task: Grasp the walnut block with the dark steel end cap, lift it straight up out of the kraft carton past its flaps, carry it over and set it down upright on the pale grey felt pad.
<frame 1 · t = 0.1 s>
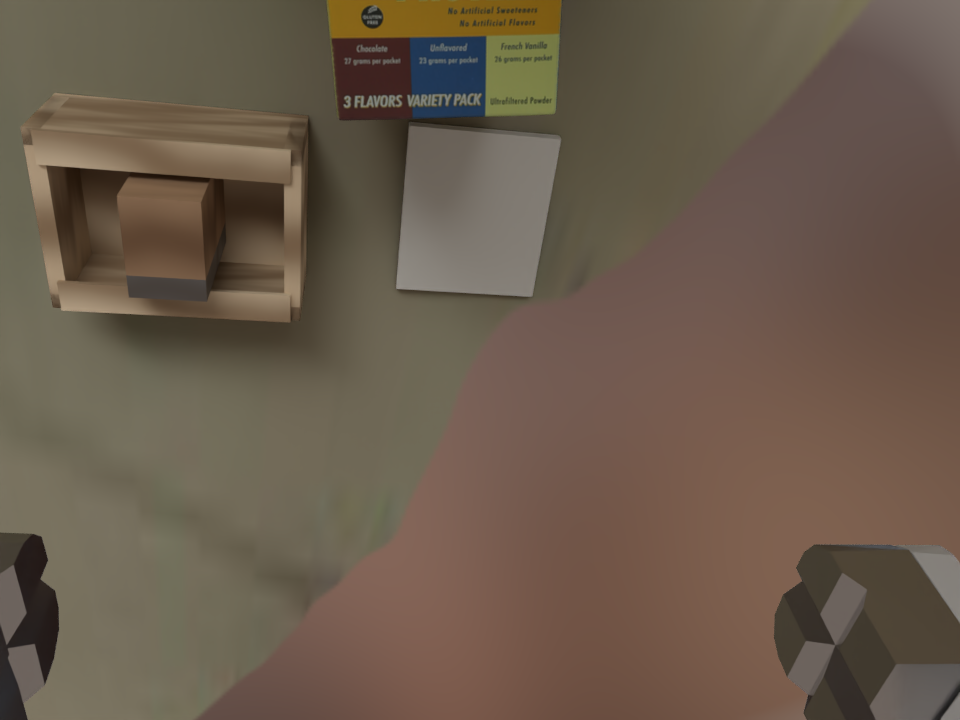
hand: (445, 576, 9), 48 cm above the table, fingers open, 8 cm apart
felt pad: (474, 212, 59), on the table
capped block: (188, 195, 56), point 1 cm above the table, touching carton
carton: (190, 191, 56), on the table
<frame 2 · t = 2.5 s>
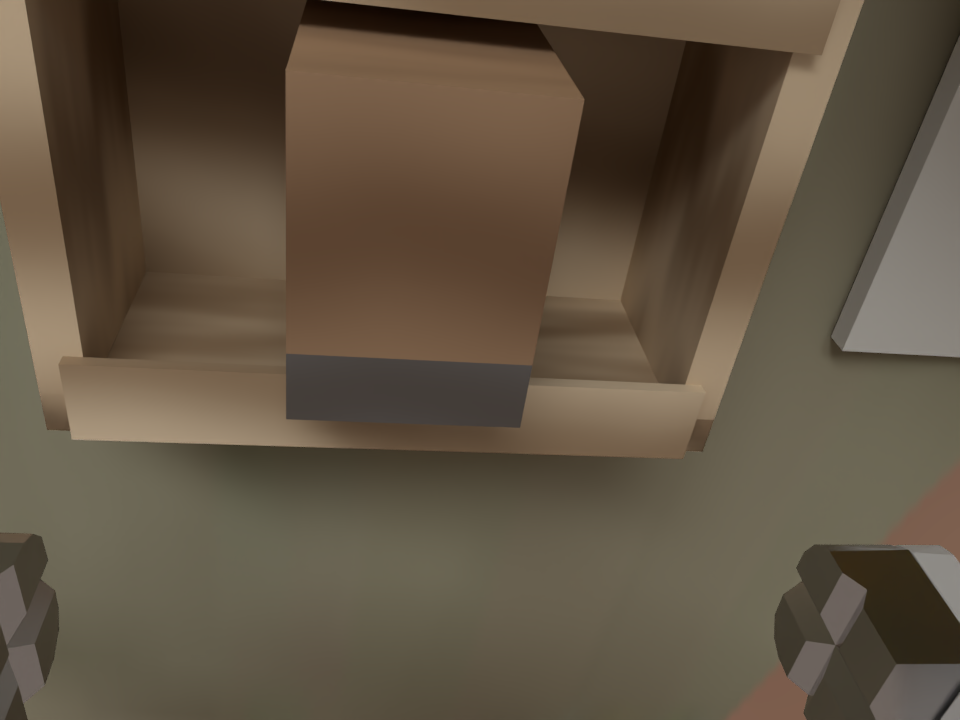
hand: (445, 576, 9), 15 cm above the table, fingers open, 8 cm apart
capped block: (406, 118, 21), point 1 cm above the table, touching carton
carton: (406, 110, 22), on the table
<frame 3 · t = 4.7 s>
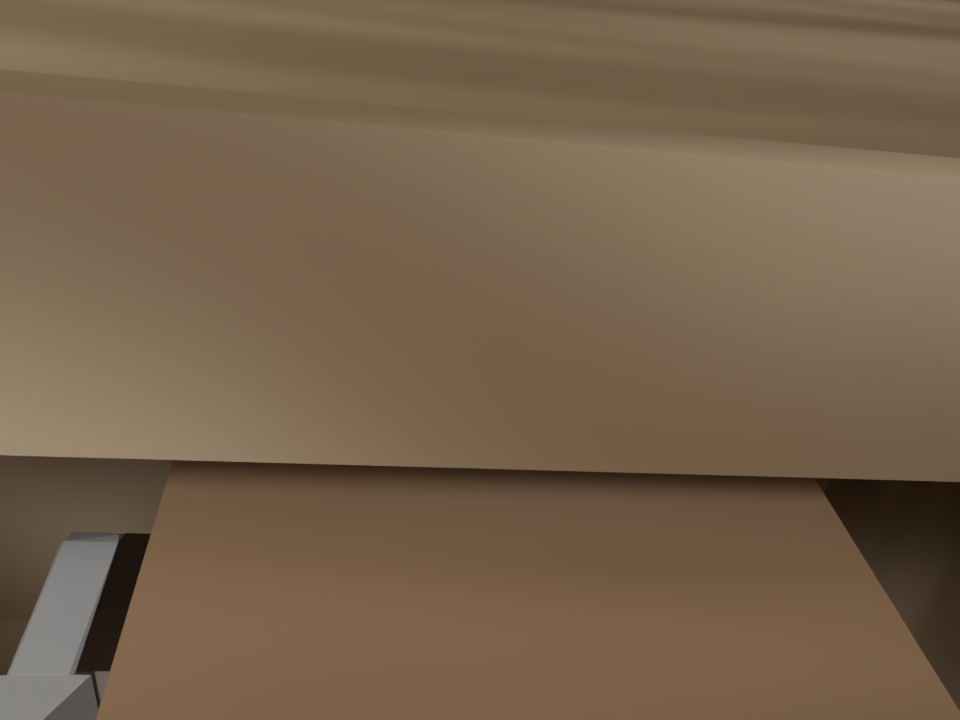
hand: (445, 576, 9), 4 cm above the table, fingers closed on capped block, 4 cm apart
capped block: (429, 396, 12), point 1 cm above the table, touching carton, gripper
carton: (427, 371, 12), on the table
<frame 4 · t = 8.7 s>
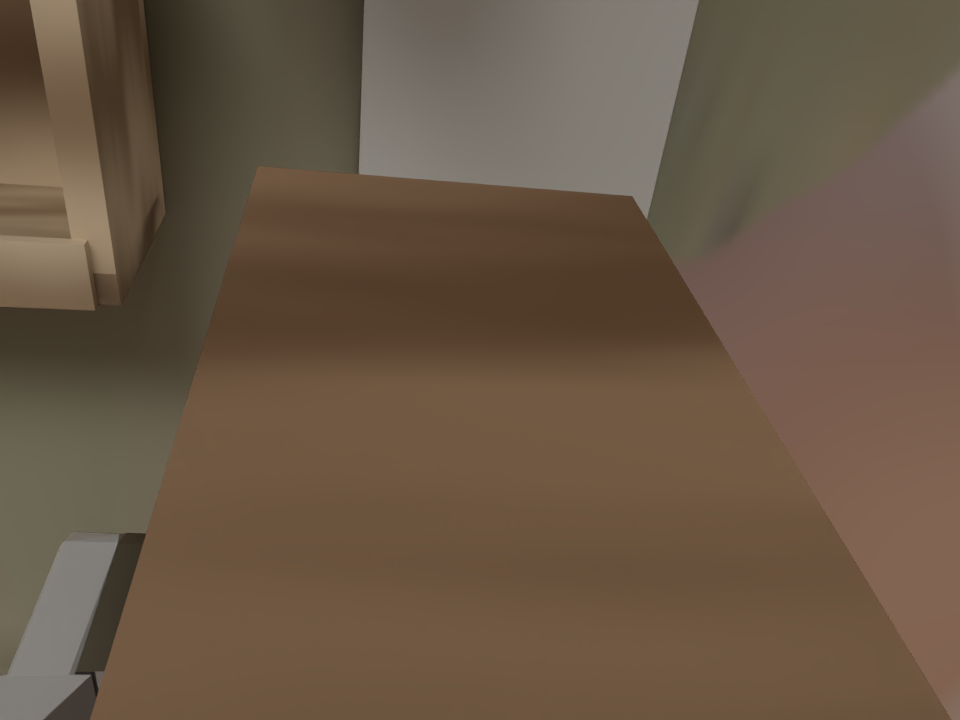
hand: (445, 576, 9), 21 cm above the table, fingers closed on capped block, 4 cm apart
felt pad: (521, 66, 27), on the table
capped block: (426, 398, 12), point 18 cm above the table, touching gripper
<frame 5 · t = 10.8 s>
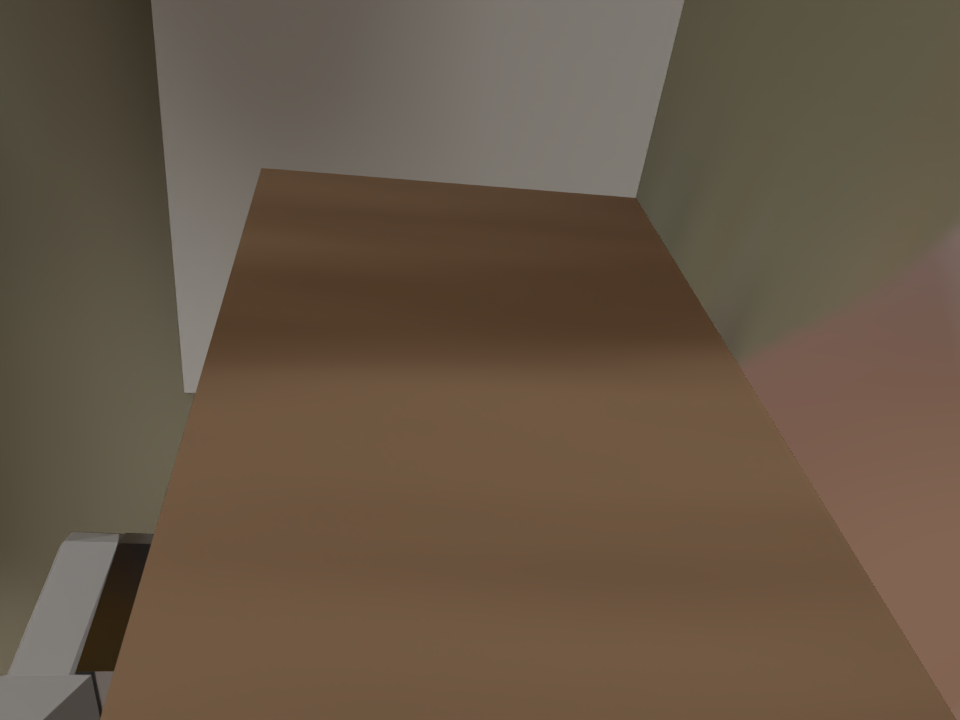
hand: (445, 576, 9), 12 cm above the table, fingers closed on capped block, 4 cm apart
felt pad: (409, 161, 19), on the table
capped block: (429, 400, 12), point 8 cm above the table, touching gripper
when the fingers open (6 cm above the table, at t = 12.8 s): capped block drops 1 cm, resting on felt pad.
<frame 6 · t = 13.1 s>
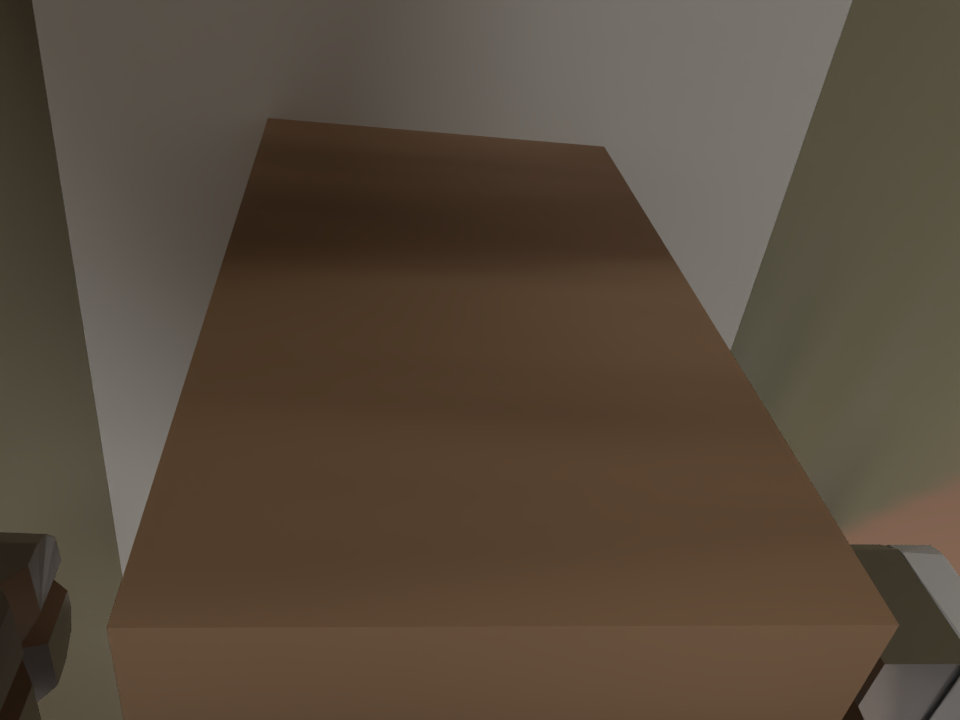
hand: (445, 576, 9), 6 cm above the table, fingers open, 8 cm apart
felt pad: (422, 312, 14), on the table
capped block: (420, 337, 13), point 1 cm above the table, touching felt pad
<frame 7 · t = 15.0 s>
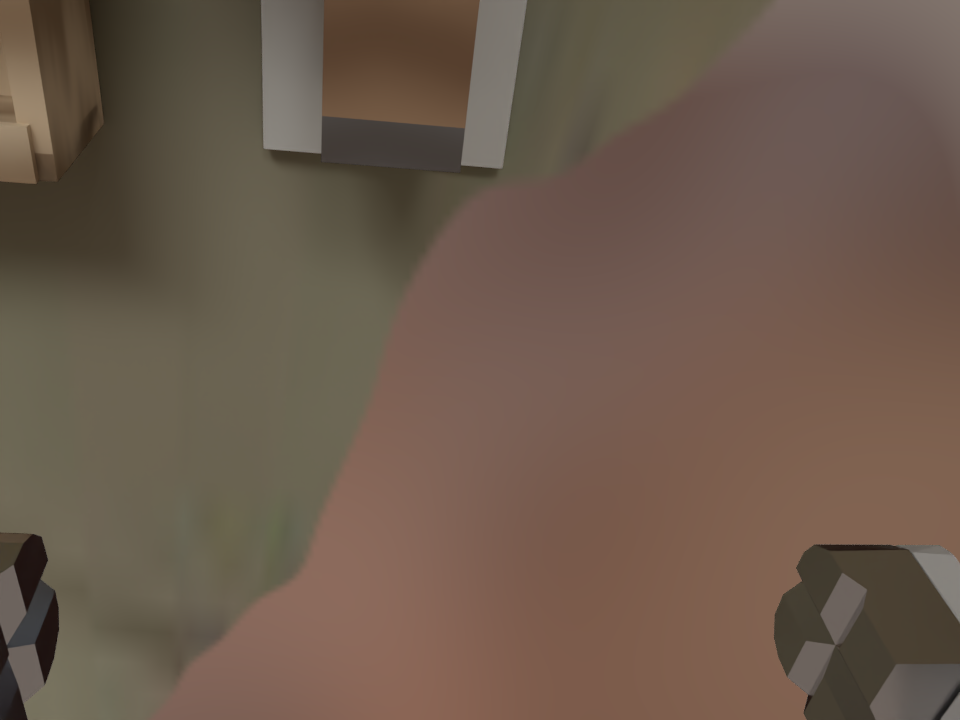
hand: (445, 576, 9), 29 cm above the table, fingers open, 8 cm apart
felt pad: (395, 4, 33), on the table
capped block: (393, 7, 32), point 1 cm above the table, touching felt pad
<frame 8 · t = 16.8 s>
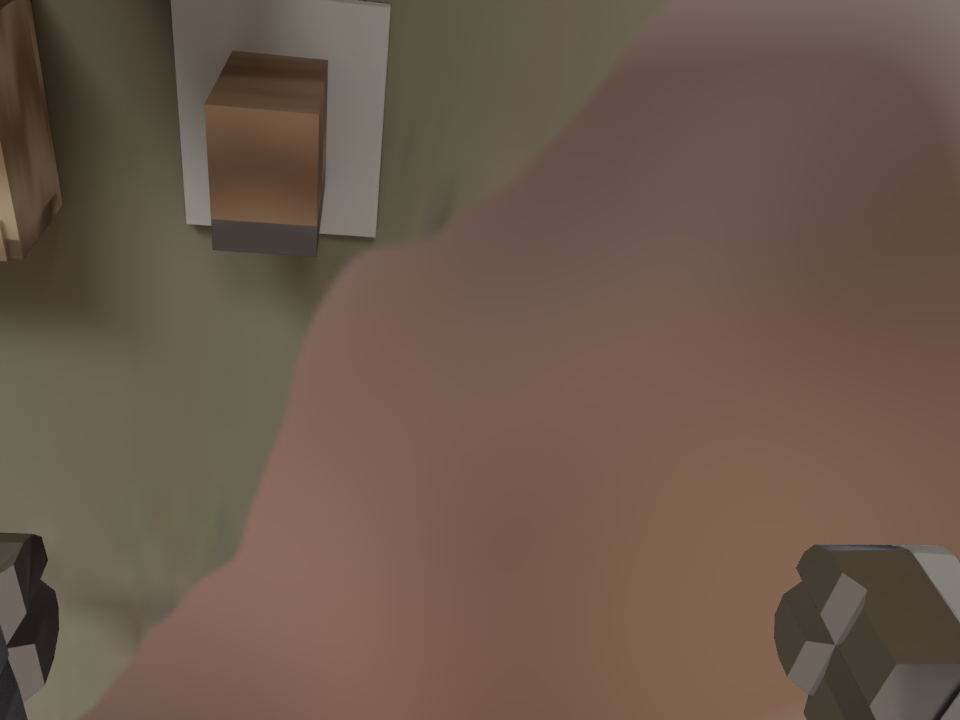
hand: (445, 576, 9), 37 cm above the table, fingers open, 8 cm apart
felt pad: (283, 117, 43), on the table
capped block: (281, 121, 42), point 1 cm above the table, touching felt pad
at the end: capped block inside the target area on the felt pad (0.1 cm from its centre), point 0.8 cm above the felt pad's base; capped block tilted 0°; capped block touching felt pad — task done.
